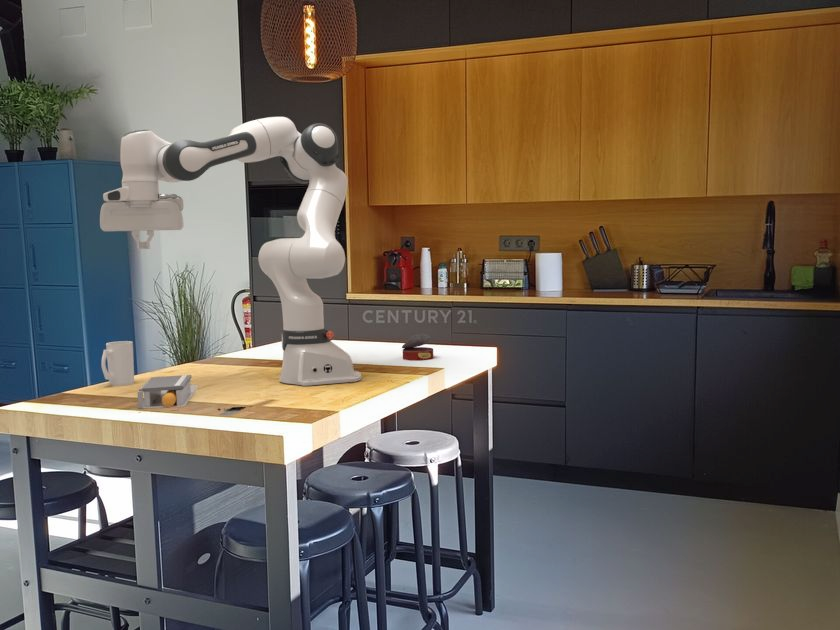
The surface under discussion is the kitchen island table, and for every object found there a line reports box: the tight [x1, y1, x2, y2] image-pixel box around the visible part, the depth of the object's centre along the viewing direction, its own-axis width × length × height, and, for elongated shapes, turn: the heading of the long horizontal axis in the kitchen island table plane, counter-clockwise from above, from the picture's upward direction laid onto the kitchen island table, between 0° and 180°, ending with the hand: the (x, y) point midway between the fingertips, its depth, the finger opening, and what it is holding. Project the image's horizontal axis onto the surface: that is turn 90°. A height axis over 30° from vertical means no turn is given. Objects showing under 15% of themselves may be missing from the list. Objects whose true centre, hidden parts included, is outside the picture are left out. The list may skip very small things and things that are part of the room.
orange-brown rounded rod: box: [162, 390, 177, 408], centre depth 190 cm, size 3×12×3 cm
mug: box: [100, 340, 135, 387], centre depth 213 cm, size 10×7×12 cm, turn 157°
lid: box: [138, 374, 193, 393], centre depth 192 cm, size 10×15×1 cm, turn 9°
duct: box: [136, 380, 199, 414], centre depth 196 cm, size 10×26×5 cm, turn 9°
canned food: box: [401, 333, 434, 362], centre depth 254 cm, size 11×10×10 cm
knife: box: [219, 395, 260, 416], centre depth 185 cm, size 22×1×5 cm
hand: (143, 248), depth 205 cm, fingers closed
